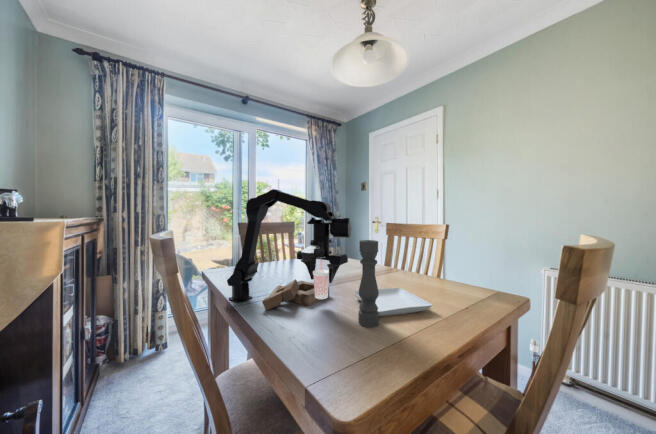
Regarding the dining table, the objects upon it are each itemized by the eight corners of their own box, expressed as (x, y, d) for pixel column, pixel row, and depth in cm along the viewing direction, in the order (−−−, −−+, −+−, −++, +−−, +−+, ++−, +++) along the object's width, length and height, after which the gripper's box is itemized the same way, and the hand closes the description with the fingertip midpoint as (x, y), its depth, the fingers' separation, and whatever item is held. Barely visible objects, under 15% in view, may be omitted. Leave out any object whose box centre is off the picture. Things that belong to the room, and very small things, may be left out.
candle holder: (380, 320, 77) (380, 240, 76) (377, 328, 71) (377, 242, 71) (360, 317, 79) (360, 239, 78) (356, 325, 73) (356, 241, 73)
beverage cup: (327, 293, 90) (327, 255, 90) (331, 299, 85) (332, 258, 84) (311, 294, 89) (311, 256, 89) (314, 300, 83) (314, 259, 83)
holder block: (278, 298, 97) (278, 288, 97) (301, 289, 107) (301, 280, 107) (308, 306, 88) (308, 295, 88) (329, 296, 99) (329, 286, 99)
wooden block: (290, 288, 84) (297, 276, 102) (261, 301, 84) (273, 287, 102) (294, 298, 84) (301, 284, 102) (265, 311, 84) (277, 295, 102)
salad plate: (351, 299, 97) (351, 290, 97) (399, 294, 102) (400, 286, 102) (375, 322, 76) (375, 311, 76) (434, 315, 82) (434, 304, 81)
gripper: (285, 237, 85) (285, 282, 85) (330, 240, 74) (330, 292, 75) (306, 235, 94) (306, 275, 95) (348, 237, 84) (348, 283, 84)
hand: (321, 281), depth 87 cm, fingers closed on beverage cup, 8 cm apart
